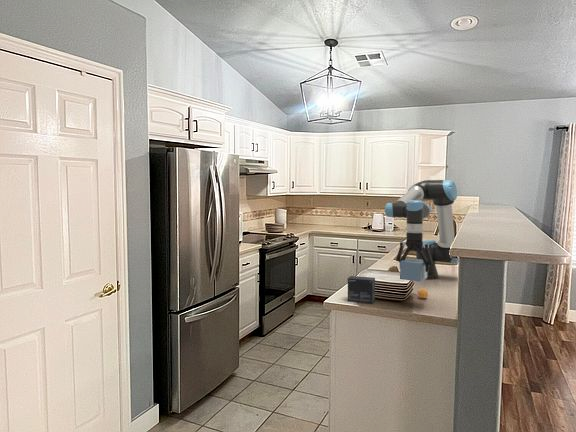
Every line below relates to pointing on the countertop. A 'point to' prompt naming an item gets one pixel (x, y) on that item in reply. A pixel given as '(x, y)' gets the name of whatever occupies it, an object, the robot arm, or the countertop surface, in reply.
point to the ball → (422, 293)
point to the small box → (361, 289)
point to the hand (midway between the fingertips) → (413, 276)
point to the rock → (393, 269)
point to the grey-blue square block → (412, 269)
